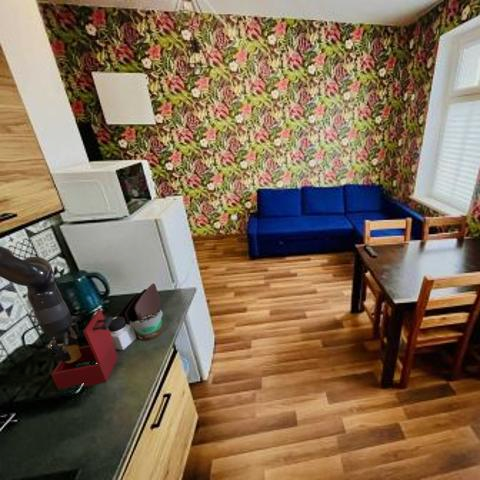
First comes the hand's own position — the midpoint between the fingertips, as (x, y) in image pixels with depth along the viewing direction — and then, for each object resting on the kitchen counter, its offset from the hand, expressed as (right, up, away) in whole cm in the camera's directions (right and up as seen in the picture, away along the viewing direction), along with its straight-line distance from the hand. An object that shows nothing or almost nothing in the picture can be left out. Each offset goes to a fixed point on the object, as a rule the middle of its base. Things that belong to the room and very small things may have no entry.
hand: (71, 354), depth 93 cm
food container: (+14, -2, +23) cm, 27 cm away
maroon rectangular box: (+3, -9, +5) cm, 11 cm away
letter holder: (+2, +3, +34) cm, 34 cm away
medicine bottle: (+4, -4, +19) cm, 20 cm away
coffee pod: (0, -2, +1) cm, 2 cm away
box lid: (+9, +6, 0) cm, 11 cm away
